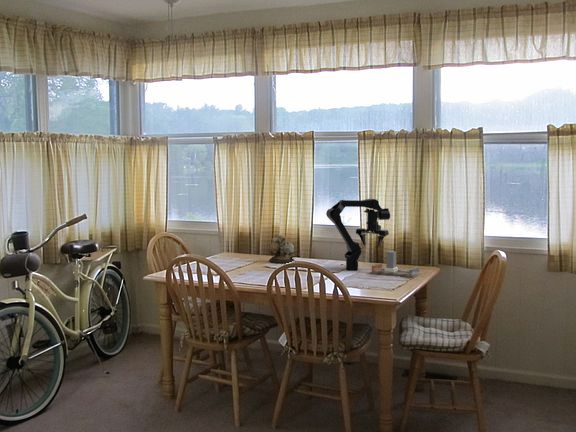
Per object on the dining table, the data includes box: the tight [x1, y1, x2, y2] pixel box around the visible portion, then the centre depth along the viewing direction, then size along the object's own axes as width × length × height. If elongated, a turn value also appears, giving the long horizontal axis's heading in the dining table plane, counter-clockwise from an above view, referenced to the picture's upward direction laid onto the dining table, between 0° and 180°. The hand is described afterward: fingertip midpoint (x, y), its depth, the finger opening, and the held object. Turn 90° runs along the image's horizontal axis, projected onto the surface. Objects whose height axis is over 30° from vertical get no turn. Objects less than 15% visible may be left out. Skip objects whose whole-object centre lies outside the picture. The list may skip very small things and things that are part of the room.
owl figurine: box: [267, 234, 296, 265], centre depth 369 cm, size 18×12×17 cm, turn 73°
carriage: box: [384, 250, 399, 272], centre depth 331 cm, size 6×6×11 cm
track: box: [371, 262, 420, 279], centre depth 330 cm, size 24×10×4 cm, turn 58°
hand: (371, 246), depth 347 cm, fingers open, 9 cm apart
